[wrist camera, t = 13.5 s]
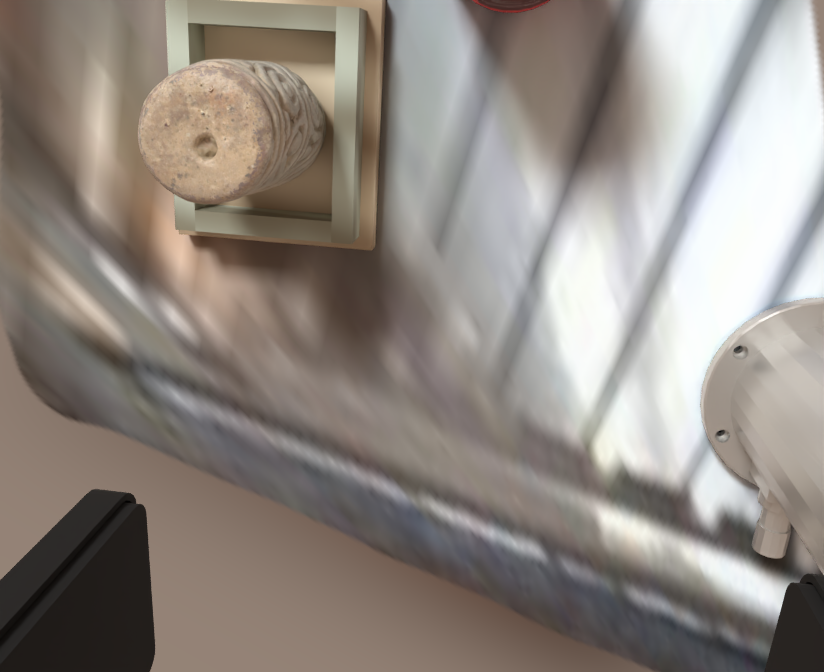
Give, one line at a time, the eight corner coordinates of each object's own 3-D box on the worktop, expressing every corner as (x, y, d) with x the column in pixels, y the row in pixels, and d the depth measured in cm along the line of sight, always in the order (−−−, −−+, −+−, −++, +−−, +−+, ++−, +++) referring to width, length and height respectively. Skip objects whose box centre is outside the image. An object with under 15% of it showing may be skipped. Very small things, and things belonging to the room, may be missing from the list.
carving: (361, 118, 43) (309, 134, 32) (273, 209, 46) (196, 253, 34) (280, 32, 42) (198, 17, 31) (195, 129, 45) (89, 148, 33)
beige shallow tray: (375, 246, 47) (365, 259, 44) (186, 230, 48) (162, 241, 45) (385, -3, 42) (375, -9, 39) (176, -14, 43) (149, -21, 40)
